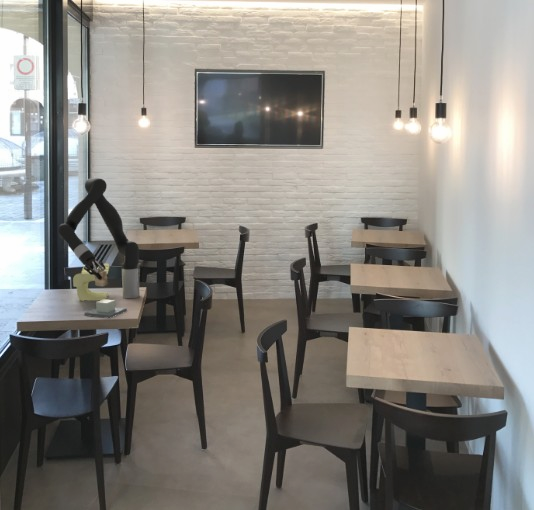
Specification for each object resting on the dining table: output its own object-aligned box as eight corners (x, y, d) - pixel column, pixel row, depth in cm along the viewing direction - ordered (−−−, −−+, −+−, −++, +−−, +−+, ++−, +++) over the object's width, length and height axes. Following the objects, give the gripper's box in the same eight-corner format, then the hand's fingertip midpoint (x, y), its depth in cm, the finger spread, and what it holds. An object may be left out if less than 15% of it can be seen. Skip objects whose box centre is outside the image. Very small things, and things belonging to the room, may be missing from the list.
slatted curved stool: (84, 292, 435) (82, 264, 432) (110, 292, 436) (109, 263, 433) (74, 304, 406) (72, 273, 403) (103, 303, 407) (101, 273, 404)
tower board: (102, 308, 396) (102, 296, 395) (127, 311, 390) (126, 299, 389) (84, 315, 381) (83, 303, 380) (109, 318, 375) (108, 305, 374)
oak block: (100, 283, 386) (99, 270, 385) (107, 284, 384) (106, 270, 383) (95, 285, 382) (94, 271, 381) (102, 286, 380) (101, 272, 379)
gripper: (79, 252, 377) (99, 276, 374) (96, 247, 389) (115, 270, 387) (71, 261, 380) (92, 285, 377) (88, 256, 392) (108, 279, 390)
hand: (104, 277), depth 382 cm, fingers closed on oak block, 4 cm apart
